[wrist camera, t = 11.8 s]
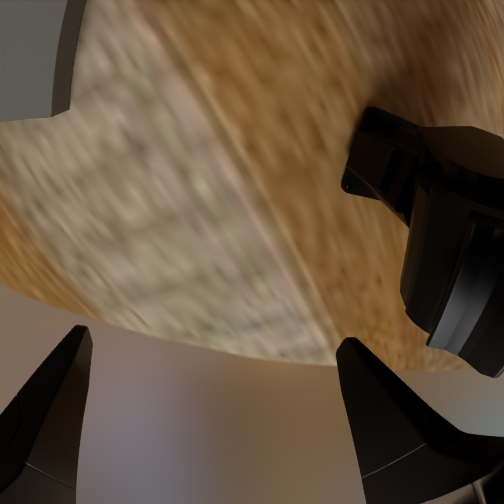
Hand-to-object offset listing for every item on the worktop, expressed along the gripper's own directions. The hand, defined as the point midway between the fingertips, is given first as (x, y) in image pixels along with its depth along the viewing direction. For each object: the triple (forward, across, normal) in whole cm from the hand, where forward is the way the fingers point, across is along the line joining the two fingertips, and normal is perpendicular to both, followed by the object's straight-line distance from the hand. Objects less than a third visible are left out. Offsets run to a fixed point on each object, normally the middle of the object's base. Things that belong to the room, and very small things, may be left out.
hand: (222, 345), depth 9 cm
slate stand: (+12, +15, -10) cm, 22 cm away
